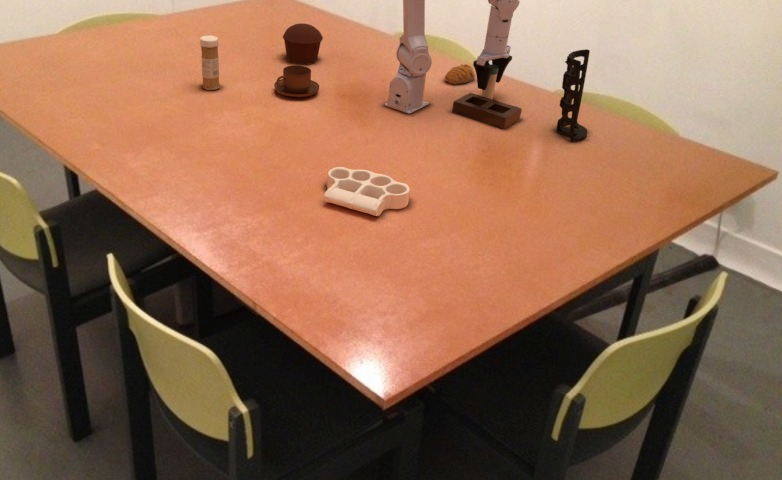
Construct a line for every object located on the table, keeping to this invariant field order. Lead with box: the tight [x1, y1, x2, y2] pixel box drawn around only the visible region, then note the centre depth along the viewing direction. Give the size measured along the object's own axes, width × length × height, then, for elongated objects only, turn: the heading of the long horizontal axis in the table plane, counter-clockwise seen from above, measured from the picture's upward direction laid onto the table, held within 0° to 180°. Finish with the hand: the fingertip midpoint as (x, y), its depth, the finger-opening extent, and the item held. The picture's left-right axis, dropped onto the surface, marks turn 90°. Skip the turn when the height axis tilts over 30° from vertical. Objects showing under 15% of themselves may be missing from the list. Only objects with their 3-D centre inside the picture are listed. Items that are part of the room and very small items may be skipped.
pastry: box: [444, 63, 476, 85], centre depth 219 cm, size 9×7×4 cm
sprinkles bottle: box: [199, 34, 220, 91], centre depth 202 cm, size 5×5×13 cm
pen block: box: [451, 92, 523, 130], centre depth 199 cm, size 9×15×3 cm, turn 52°
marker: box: [480, 63, 499, 100], centre depth 207 cm, size 3×4×9 cm
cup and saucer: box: [273, 64, 320, 98], centre depth 204 cm, size 12×12×6 cm
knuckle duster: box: [323, 166, 411, 217], centre depth 159 cm, size 3×18×15 cm
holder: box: [556, 48, 591, 143], centre depth 188 cm, size 11×8×20 cm
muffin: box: [282, 22, 324, 65], centre depth 225 cm, size 12×11×10 cm
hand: (488, 85), depth 207 cm, fingers open, 7 cm apart
